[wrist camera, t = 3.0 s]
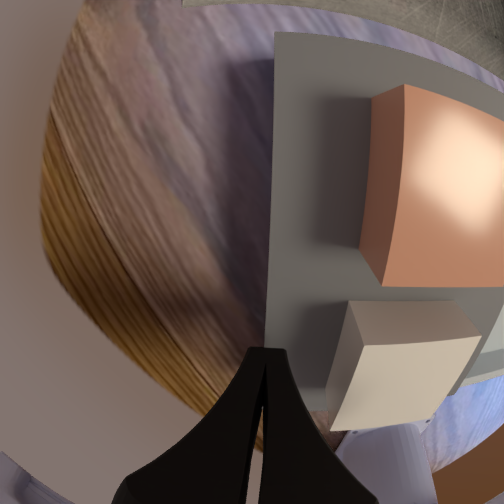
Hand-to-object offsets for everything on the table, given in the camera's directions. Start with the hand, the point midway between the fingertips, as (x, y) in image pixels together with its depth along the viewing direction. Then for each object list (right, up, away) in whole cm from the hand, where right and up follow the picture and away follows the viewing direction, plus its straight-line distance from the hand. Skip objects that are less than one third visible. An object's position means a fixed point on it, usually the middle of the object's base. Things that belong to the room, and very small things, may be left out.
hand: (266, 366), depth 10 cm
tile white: (+5, 0, 0) cm, 5 cm away
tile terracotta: (+6, +7, -2) cm, 9 cm away
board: (+6, +4, +2) cm, 8 cm away
